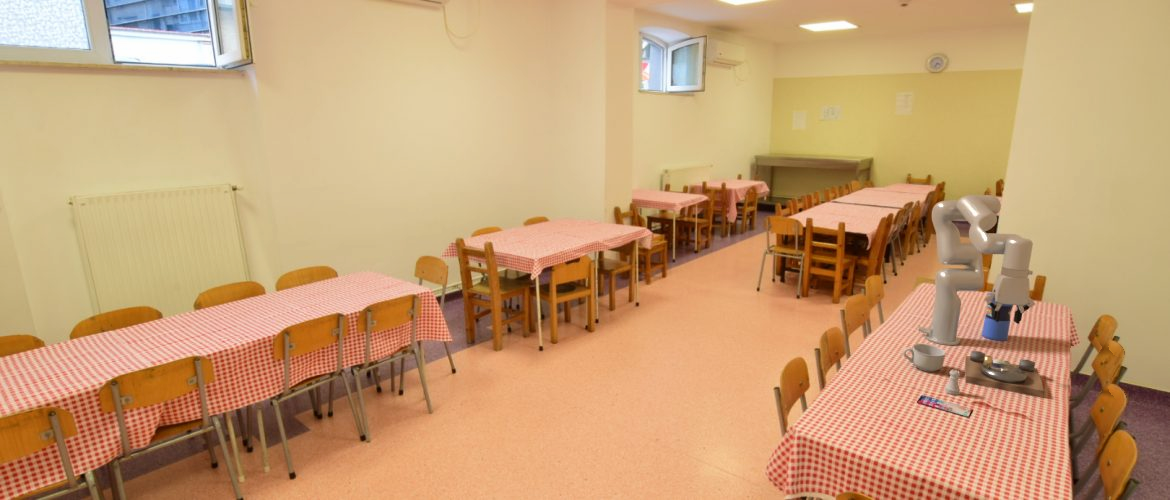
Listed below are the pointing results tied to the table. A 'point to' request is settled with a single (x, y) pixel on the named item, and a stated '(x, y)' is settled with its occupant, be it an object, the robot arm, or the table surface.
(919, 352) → the teacup
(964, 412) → the smartphone
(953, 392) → the rook chess piece
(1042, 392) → the levelling base
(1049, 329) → the table surface
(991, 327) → the water bottle
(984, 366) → the silver metal dome
